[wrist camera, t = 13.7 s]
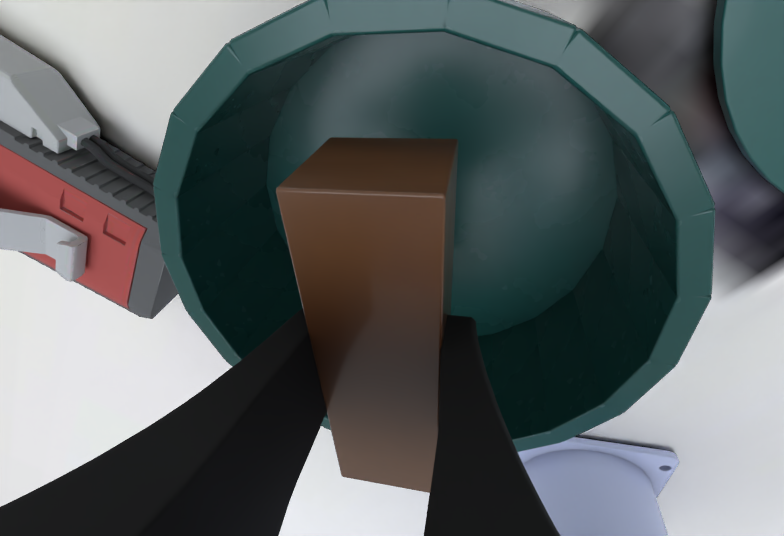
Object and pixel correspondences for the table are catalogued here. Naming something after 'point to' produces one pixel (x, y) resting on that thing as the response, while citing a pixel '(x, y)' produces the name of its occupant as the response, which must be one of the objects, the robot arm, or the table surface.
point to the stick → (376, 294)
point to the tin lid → (753, 80)
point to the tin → (457, 191)
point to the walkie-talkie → (75, 191)
